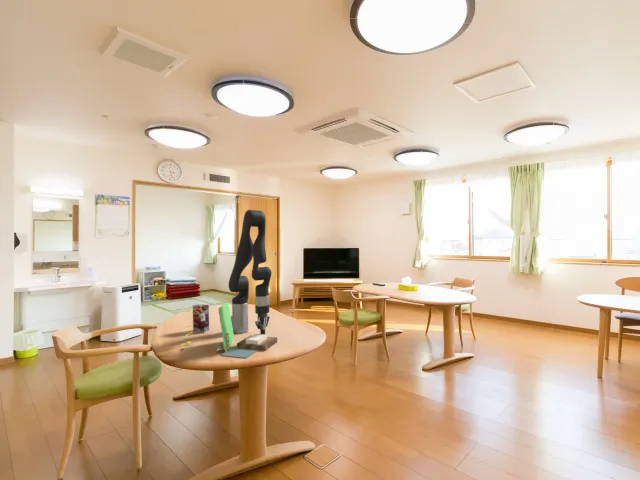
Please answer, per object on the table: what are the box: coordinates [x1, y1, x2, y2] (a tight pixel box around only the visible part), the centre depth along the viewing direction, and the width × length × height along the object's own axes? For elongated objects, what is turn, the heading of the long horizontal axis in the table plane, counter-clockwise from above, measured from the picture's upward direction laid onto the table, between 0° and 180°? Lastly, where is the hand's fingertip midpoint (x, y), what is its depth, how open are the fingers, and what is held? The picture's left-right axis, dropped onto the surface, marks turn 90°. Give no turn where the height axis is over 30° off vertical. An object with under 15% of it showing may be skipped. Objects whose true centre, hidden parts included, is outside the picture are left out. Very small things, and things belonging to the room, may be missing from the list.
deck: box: [236, 334, 278, 352], centre depth 173 cm, size 16×14×2 cm
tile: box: [246, 333, 268, 344], centre depth 172 cm, size 7×10×2 cm
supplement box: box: [192, 303, 210, 333], centre depth 201 cm, size 9×5×16 cm, turn 68°
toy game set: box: [180, 301, 235, 353], centre depth 172 cm, size 22×25×24 cm
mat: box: [219, 347, 259, 359], centre depth 161 cm, size 14×11×1 cm
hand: (262, 336), depth 178 cm, fingers closed
